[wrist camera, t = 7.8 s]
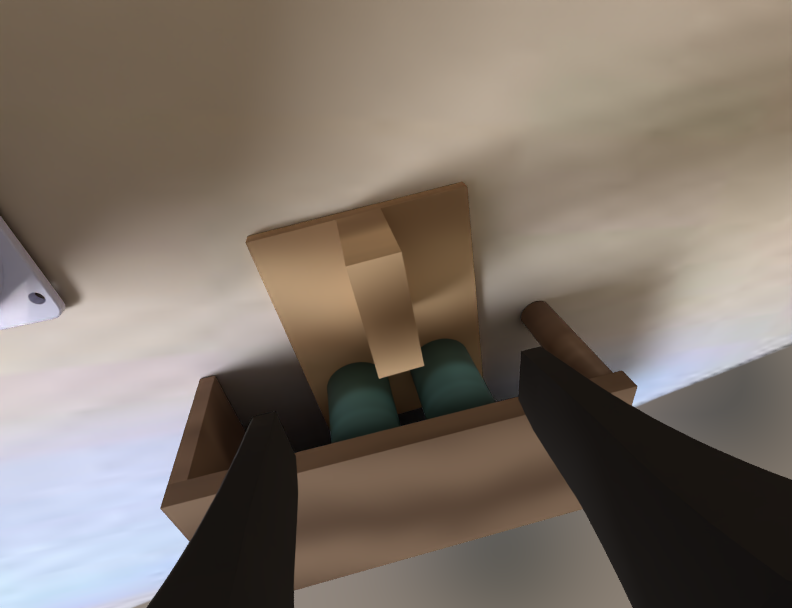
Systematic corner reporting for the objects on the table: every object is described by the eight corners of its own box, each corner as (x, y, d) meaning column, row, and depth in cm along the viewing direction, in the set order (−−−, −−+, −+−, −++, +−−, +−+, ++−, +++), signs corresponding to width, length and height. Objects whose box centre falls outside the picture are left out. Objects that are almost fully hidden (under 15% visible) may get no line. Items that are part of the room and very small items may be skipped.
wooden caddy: (200, 379, 19) (160, 508, 14) (550, 298, 21) (637, 386, 15) (257, 479, 24) (244, 604, 19) (539, 407, 25) (602, 503, 20)
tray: (248, 232, 16) (230, 297, 12) (459, 179, 17) (510, 222, 13) (329, 419, 23) (336, 501, 19) (477, 377, 24) (514, 447, 19)
